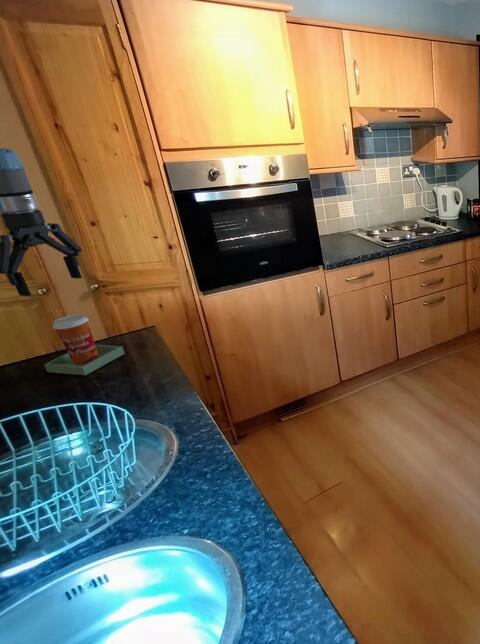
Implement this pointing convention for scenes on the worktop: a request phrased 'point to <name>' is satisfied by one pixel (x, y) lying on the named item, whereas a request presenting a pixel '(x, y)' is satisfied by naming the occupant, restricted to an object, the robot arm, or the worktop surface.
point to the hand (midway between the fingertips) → (52, 286)
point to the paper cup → (77, 338)
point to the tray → (69, 367)
